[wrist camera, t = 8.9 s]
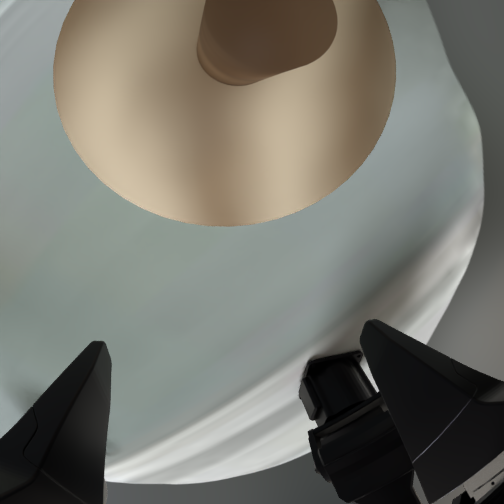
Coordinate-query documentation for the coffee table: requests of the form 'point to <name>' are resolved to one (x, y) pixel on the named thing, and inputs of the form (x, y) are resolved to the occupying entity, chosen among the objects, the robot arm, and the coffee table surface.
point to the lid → (224, 101)
